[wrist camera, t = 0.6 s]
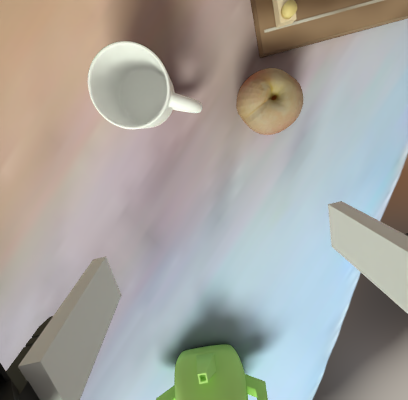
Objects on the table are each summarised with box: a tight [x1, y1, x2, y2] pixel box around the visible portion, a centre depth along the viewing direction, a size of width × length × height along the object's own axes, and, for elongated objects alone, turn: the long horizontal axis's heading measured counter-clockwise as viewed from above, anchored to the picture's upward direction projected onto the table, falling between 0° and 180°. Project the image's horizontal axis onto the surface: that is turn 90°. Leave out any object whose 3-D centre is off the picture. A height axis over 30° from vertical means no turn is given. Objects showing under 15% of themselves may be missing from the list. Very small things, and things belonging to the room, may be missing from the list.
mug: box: [88, 41, 202, 129], centre depth 31 cm, size 12×8×10 cm
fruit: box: [236, 68, 303, 135], centre depth 32 cm, size 8×8×8 cm
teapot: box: [156, 344, 268, 400], centre depth 44 cm, size 18×20×13 cm
